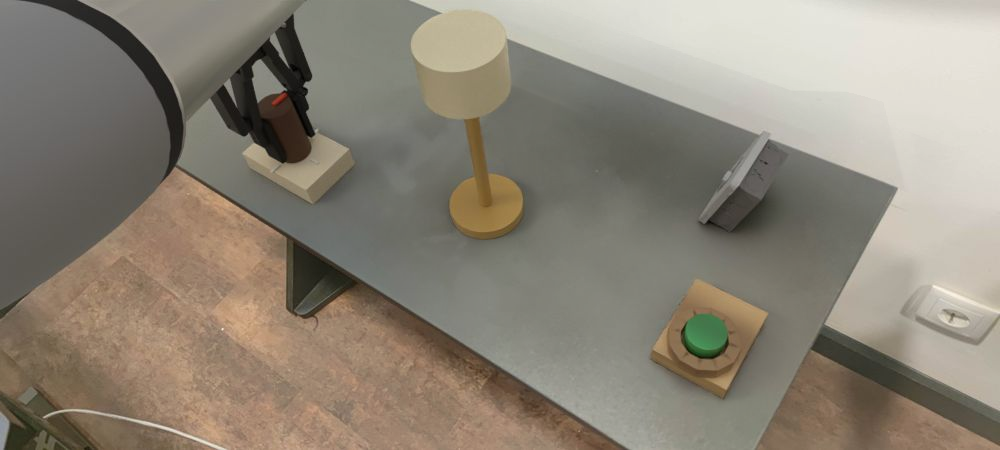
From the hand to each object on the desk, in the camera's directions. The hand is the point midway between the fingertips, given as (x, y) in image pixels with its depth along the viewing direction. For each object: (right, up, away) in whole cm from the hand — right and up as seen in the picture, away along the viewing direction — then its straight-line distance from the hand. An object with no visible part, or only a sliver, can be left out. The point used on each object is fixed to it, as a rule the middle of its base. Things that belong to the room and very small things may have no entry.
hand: (292, 144), depth 90 cm
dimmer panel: (0, -2, +3) cm, 4 cm away
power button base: (+48, -22, -17) cm, 56 cm away
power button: (+47, -22, -21) cm, 56 cm away
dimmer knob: (0, -1, +1) cm, 1 cm away
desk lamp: (+25, -8, -4) cm, 27 cm away
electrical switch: (+55, -8, -7) cm, 56 cm away
